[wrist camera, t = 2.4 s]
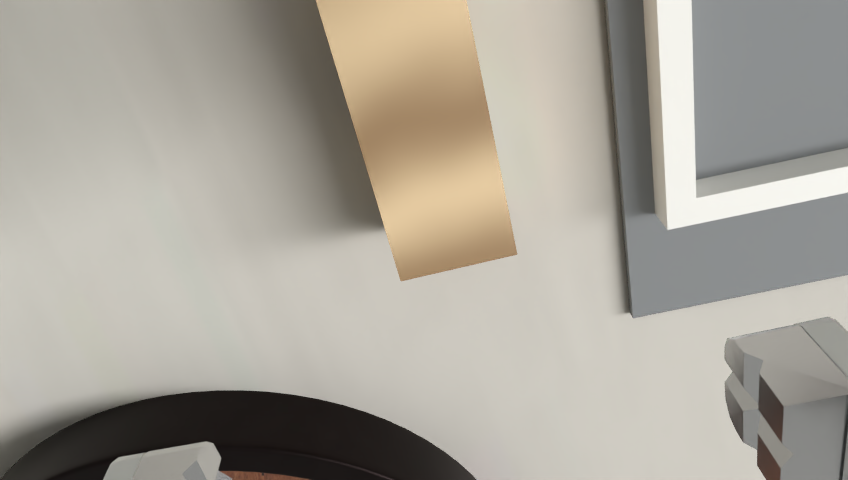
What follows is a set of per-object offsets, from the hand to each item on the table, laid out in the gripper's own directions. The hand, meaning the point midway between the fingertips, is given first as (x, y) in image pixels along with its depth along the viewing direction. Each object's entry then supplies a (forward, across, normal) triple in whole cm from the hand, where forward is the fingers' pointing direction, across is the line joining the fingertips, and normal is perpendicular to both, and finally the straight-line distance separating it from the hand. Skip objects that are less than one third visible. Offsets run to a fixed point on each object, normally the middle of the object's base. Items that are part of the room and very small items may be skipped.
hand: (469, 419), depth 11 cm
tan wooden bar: (+19, 0, 0) cm, 19 cm away
